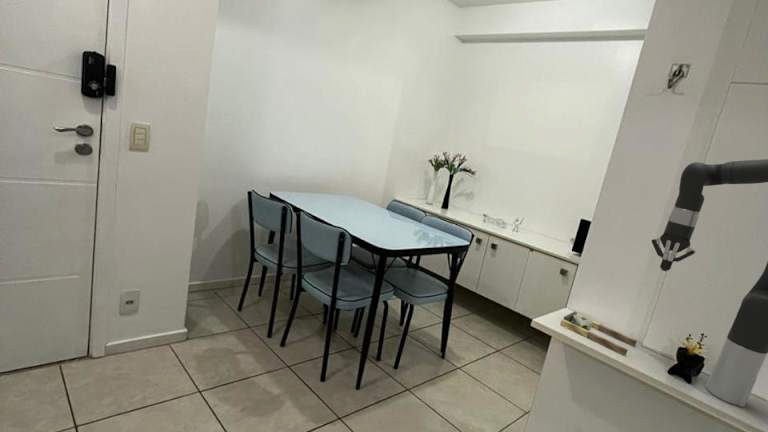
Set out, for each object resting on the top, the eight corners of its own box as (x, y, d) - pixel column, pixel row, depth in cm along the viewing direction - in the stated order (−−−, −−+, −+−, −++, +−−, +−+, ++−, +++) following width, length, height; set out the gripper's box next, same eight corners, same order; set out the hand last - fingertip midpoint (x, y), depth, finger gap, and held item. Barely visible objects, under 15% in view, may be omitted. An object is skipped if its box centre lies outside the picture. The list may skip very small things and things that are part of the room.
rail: (635, 345, 143) (638, 338, 142) (624, 356, 133) (627, 348, 133) (573, 317, 158) (576, 310, 157) (560, 324, 148) (562, 317, 147)
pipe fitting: (587, 327, 153) (569, 322, 153) (590, 318, 152) (573, 313, 152) (595, 337, 145) (577, 332, 145) (600, 328, 144) (581, 322, 144)
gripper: (707, 228, 132) (688, 276, 136) (661, 216, 141) (645, 262, 144) (704, 229, 126) (684, 279, 130) (656, 216, 135) (639, 264, 139)
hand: (664, 270), depth 137 cm, fingers closed
